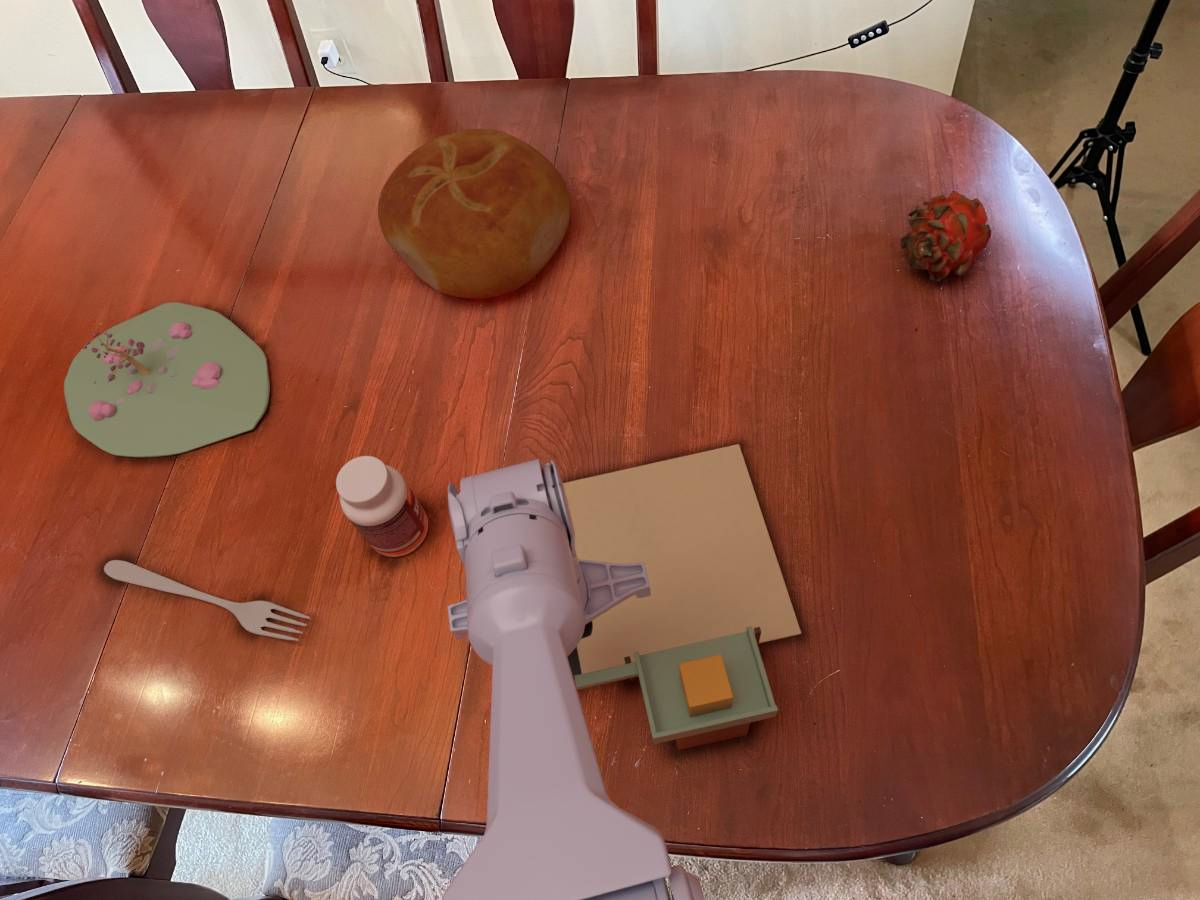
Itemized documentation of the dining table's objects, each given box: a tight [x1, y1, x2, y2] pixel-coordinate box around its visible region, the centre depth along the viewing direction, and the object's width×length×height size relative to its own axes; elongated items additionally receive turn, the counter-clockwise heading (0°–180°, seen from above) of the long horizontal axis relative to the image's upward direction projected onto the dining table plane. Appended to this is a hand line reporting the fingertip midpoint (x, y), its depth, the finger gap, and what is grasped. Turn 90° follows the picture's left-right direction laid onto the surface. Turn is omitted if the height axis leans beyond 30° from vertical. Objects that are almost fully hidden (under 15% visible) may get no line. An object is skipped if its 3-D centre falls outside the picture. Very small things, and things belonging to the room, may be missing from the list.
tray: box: [567, 626, 779, 745], centre depth 68 cm, size 10×16×2 cm, turn 101°
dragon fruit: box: [899, 190, 992, 283], centre depth 92 cm, size 8×8×12 cm
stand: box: [624, 627, 761, 751], centre depth 71 cm, size 7×12×6 cm, turn 101°
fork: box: [103, 559, 312, 642], centre depth 82 cm, size 3×24×2 cm, turn 71°
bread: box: [377, 128, 572, 300], centre depth 99 cm, size 23×23×10 cm
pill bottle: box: [335, 455, 429, 558], centre depth 80 cm, size 6×6×11 cm
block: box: [679, 654, 733, 717], centre depth 66 cm, size 3×3×3 cm
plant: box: [63, 301, 271, 459], centre depth 93 cm, size 25×21×9 cm
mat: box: [563, 443, 802, 674], centre depth 80 cm, size 20×20×1 cm
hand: (564, 634), depth 68 cm, fingers closed
